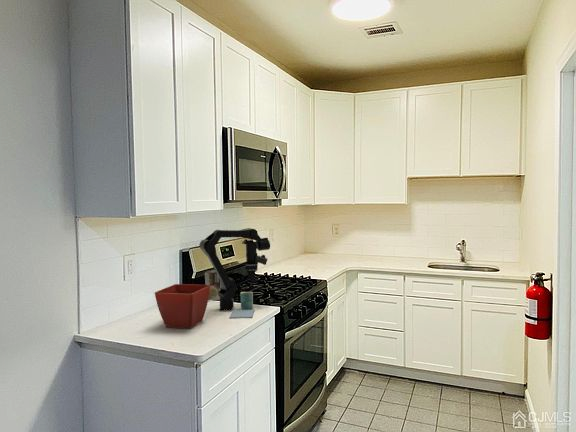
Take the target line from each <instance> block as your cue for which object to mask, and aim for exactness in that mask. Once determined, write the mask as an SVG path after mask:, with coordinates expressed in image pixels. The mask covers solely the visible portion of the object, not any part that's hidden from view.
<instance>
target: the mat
mask: <svg viewBox="0 0 576 432" xmlns="http://www.w3.org/2000/svg"><path fill="white" fill-rule="evenodd" d="M254 313H255V309H253V310H241V309H232V310H231V313H230V315H229V319H253V316H254Z"/></svg>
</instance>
